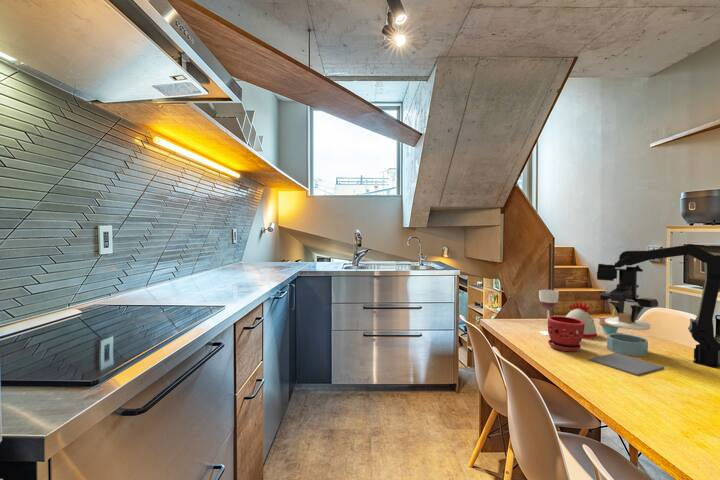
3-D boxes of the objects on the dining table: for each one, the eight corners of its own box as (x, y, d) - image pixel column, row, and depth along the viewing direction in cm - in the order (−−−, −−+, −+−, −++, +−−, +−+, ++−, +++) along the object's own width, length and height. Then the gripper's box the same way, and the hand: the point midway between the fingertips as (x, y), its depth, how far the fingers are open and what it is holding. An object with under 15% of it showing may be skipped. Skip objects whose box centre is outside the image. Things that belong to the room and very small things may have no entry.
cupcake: (614, 330, 174) (614, 305, 173) (625, 335, 165) (625, 309, 165) (595, 330, 174) (595, 305, 174) (605, 335, 166) (605, 309, 166)
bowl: (654, 353, 141) (655, 340, 141) (635, 357, 135) (635, 344, 135) (619, 343, 152) (619, 332, 152) (599, 347, 147) (600, 335, 147)
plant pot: (563, 354, 139) (563, 323, 139) (540, 344, 152) (540, 316, 152) (592, 352, 141) (592, 322, 141) (566, 342, 154) (567, 314, 154)
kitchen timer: (593, 339, 158) (594, 306, 158) (558, 334, 167) (559, 302, 167) (598, 333, 169) (598, 301, 169) (565, 328, 178) (565, 298, 178)
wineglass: (534, 332, 170) (534, 290, 170) (546, 330, 174) (547, 289, 173) (549, 336, 163) (550, 292, 163) (562, 334, 167) (562, 291, 166)
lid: (658, 327, 140) (658, 315, 140) (636, 331, 134) (636, 319, 134) (618, 319, 153) (618, 308, 153) (596, 322, 147) (597, 311, 147)
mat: (664, 368, 125) (664, 366, 125) (636, 375, 118) (637, 374, 118) (615, 354, 139) (615, 352, 139) (588, 360, 133) (588, 358, 133)
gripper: (591, 280, 149) (590, 317, 149) (642, 286, 132) (641, 328, 132) (608, 278, 153) (607, 315, 154) (659, 284, 136) (658, 325, 136)
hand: (627, 320), depth 144 cm, fingers closed on lid, 4 cm apart
